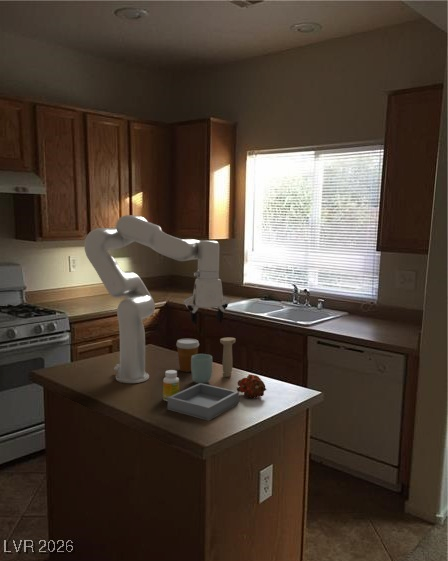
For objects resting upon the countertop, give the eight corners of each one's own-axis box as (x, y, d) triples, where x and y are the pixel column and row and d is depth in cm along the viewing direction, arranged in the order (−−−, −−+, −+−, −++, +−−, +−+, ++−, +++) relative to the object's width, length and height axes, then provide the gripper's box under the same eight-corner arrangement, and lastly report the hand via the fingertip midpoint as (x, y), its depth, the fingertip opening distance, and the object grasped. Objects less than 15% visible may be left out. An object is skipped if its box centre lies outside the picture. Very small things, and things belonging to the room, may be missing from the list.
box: (167, 409, 161) (167, 397, 161) (199, 393, 176) (199, 382, 176) (208, 420, 153) (208, 408, 152) (238, 403, 168) (238, 391, 167)
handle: (237, 376, 198) (238, 338, 196) (225, 379, 193) (226, 341, 191) (228, 373, 201) (229, 336, 199) (217, 376, 197) (217, 339, 195)
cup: (202, 377, 195) (202, 352, 194) (215, 382, 189) (216, 356, 188) (187, 381, 189) (187, 356, 188) (200, 386, 184) (201, 360, 183)
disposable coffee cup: (171, 369, 205) (171, 340, 204) (189, 364, 212) (189, 337, 210) (185, 374, 198) (185, 345, 197) (203, 370, 205) (204, 341, 203)
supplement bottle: (172, 403, 167) (172, 374, 166) (159, 399, 170) (159, 372, 169) (182, 398, 171) (182, 371, 170) (169, 395, 174) (169, 368, 173)
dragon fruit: (263, 406, 169) (238, 402, 178) (275, 387, 174) (250, 384, 183) (251, 390, 166) (226, 386, 174) (264, 371, 170) (239, 368, 179)
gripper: (188, 277, 170) (187, 326, 172) (234, 276, 177) (233, 323, 179) (181, 274, 177) (180, 321, 179) (226, 273, 184) (224, 319, 186)
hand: (206, 322), depth 179 cm, fingers open, 9 cm apart
